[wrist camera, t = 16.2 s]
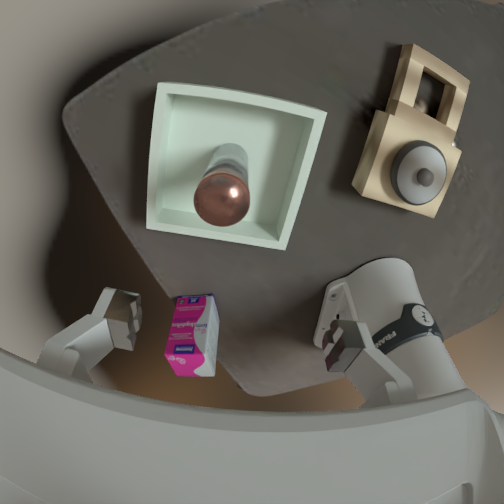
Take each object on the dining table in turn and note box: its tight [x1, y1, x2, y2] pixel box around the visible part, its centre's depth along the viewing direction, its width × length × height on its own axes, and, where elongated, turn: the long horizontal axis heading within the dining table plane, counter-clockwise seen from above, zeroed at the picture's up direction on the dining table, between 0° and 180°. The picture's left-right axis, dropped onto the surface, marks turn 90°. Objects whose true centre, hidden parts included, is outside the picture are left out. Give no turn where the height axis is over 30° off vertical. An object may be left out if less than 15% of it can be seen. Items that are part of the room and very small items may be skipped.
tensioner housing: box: [352, 44, 470, 218], centre depth 25 cm, size 20×12×6 cm, turn 168°
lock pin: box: [193, 143, 250, 227], centre depth 25 cm, size 4×4×11 cm
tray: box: [146, 82, 327, 250], centre depth 29 cm, size 16×16×4 cm
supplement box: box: [164, 294, 220, 376], centre depth 39 cm, size 6×6×12 cm
